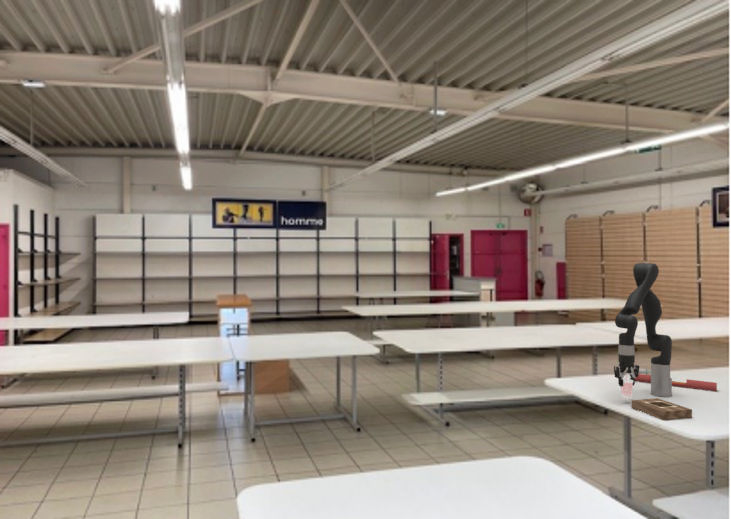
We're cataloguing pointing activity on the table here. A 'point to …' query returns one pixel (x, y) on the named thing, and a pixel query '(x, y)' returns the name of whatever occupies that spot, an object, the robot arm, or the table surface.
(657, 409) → the socket board
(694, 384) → the reddish-brown long rod
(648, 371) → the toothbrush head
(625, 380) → the beverage cup
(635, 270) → the robot arm
